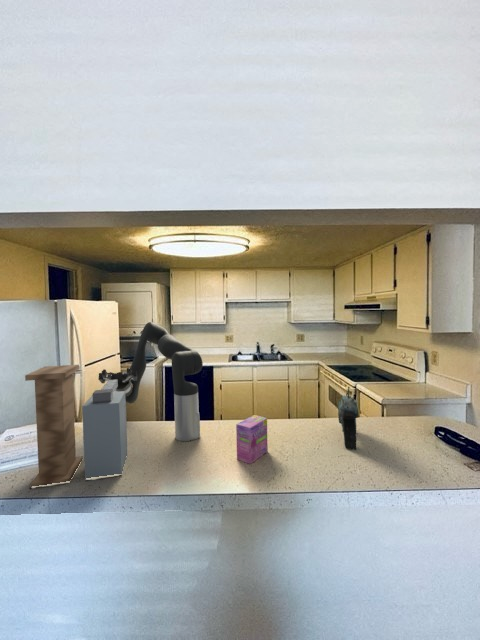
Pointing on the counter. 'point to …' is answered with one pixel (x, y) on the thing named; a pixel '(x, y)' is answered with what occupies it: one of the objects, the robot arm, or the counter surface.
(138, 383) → the robot arm
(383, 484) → the counter surface
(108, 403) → the slate block
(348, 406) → the dark grey upright piece
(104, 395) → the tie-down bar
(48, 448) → the walnut stand
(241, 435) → the box
